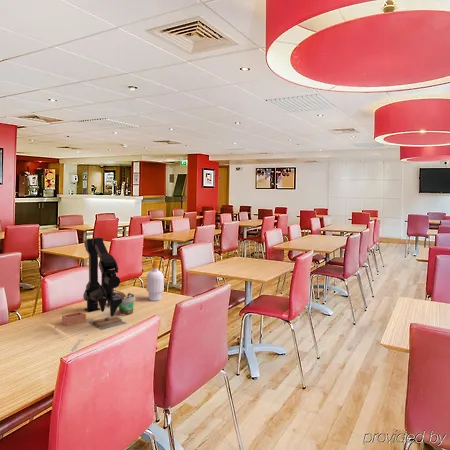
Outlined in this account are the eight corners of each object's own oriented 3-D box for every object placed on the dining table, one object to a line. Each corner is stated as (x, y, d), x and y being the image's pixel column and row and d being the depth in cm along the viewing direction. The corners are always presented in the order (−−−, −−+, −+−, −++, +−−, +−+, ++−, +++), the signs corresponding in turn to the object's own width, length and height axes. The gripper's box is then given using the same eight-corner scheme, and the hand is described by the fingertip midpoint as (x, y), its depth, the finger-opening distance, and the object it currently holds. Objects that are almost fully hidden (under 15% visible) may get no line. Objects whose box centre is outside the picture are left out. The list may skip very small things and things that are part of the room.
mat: (87, 323, 197) (87, 322, 197) (112, 317, 207) (112, 316, 207) (101, 331, 187) (101, 329, 187) (127, 324, 197) (127, 323, 197)
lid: (92, 323, 195) (92, 319, 195) (114, 318, 204) (114, 314, 203) (99, 327, 190) (99, 322, 190) (121, 321, 199) (121, 317, 199)
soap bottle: (157, 302, 235) (158, 262, 233) (142, 300, 239) (143, 261, 236) (166, 298, 245) (167, 259, 242) (151, 296, 248) (152, 258, 246)
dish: (62, 324, 195) (61, 315, 194) (80, 320, 201) (80, 311, 201) (66, 327, 191) (66, 318, 190) (85, 323, 198) (85, 314, 197)
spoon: (90, 337, 181) (90, 334, 180) (73, 357, 160) (72, 353, 160) (81, 337, 181) (81, 333, 180) (62, 356, 160) (62, 353, 160)
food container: (129, 318, 206) (129, 300, 205) (118, 317, 207) (118, 298, 206) (138, 311, 218) (139, 293, 217) (128, 310, 219) (128, 292, 218)
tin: (127, 307, 225) (127, 293, 224) (123, 308, 222) (123, 294, 221) (109, 302, 233) (109, 288, 232) (105, 303, 230) (105, 289, 229)
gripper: (83, 281, 196) (83, 312, 197) (101, 289, 183) (101, 322, 184) (103, 278, 204) (103, 308, 205) (123, 286, 191) (122, 317, 192)
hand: (107, 313), depth 197 cm, fingers open, 9 cm apart
